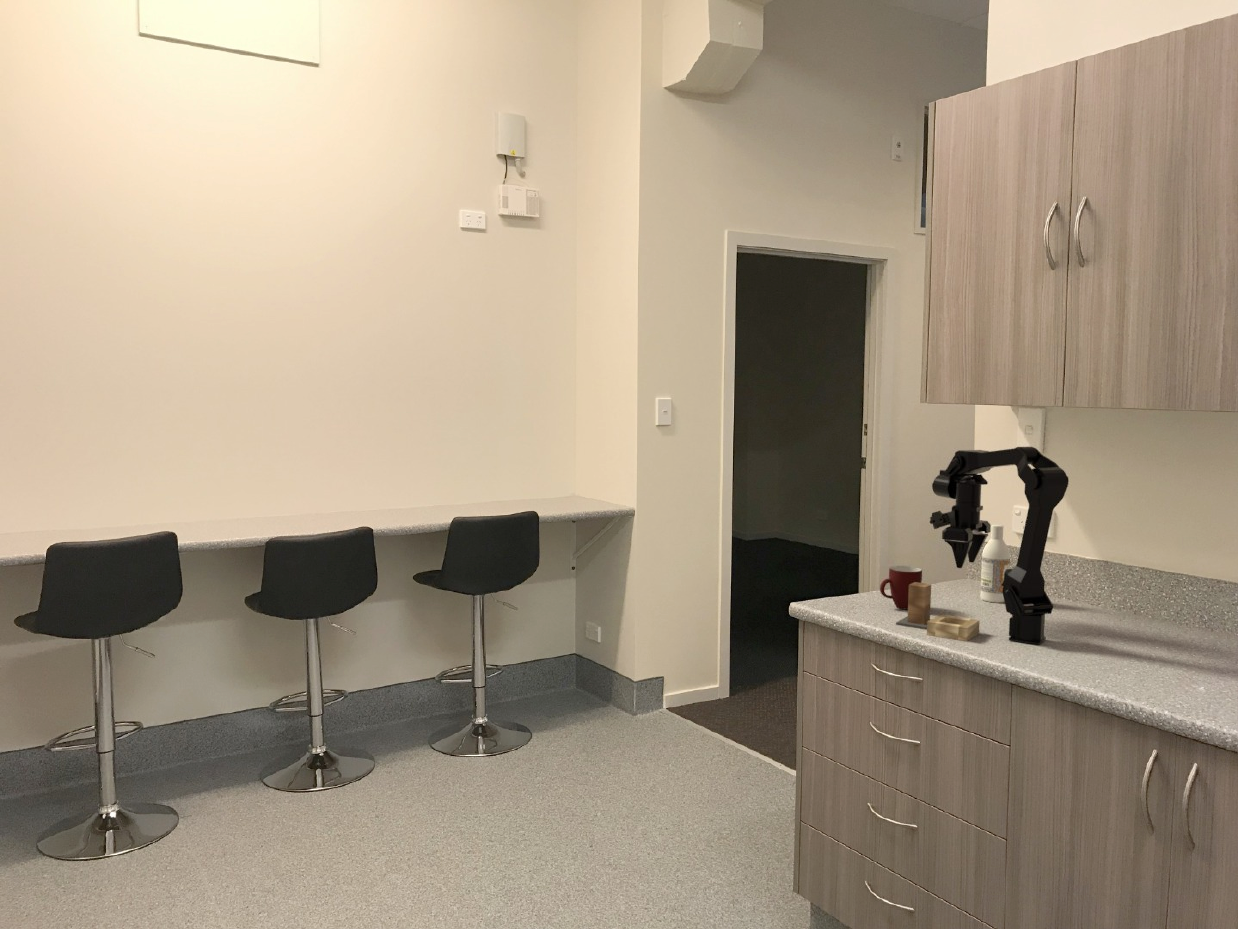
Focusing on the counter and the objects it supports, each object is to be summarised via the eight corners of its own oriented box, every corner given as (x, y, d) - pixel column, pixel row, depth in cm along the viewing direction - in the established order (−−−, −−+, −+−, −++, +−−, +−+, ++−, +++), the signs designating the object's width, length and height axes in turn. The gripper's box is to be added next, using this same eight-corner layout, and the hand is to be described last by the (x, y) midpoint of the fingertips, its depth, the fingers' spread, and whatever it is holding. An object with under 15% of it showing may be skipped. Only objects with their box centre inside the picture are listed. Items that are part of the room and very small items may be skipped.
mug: (890, 612, 245) (891, 573, 244) (873, 605, 253) (874, 567, 252) (927, 610, 248) (928, 571, 247) (909, 603, 255) (910, 565, 254)
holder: (979, 633, 226) (979, 620, 226) (966, 641, 219) (967, 628, 219) (940, 626, 232) (940, 614, 231) (926, 634, 224) (927, 621, 224)
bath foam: (1001, 604, 254) (1004, 528, 253) (975, 600, 259) (978, 525, 258) (1012, 600, 259) (1016, 525, 257) (987, 596, 264) (990, 522, 262)
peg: (929, 621, 234) (931, 584, 234) (924, 624, 231) (925, 587, 230) (913, 618, 237) (914, 582, 236) (907, 622, 234) (908, 584, 233)
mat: (940, 623, 235) (940, 621, 235) (929, 629, 229) (929, 627, 228) (908, 617, 240) (908, 615, 240) (896, 624, 233) (896, 622, 233)
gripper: (947, 495, 250) (945, 555, 252) (921, 502, 235) (919, 566, 237) (992, 498, 244) (989, 561, 245) (968, 506, 229) (966, 572, 230)
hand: (965, 565), depth 239 cm, fingers open, 9 cm apart
